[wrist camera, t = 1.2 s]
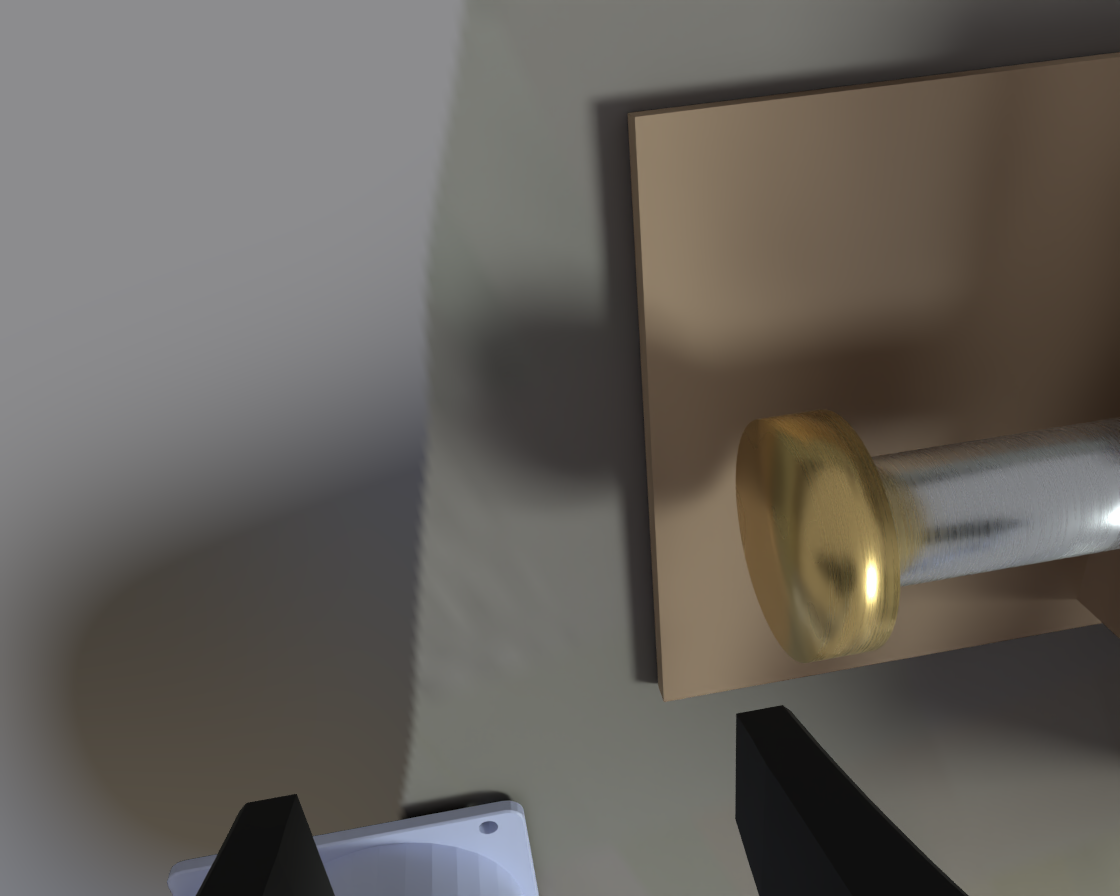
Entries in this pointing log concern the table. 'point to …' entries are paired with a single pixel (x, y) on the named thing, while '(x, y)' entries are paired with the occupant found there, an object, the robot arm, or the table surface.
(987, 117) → the bearing block
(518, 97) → the table surface
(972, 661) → the table surface
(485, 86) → the table surface
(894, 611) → the shaft
